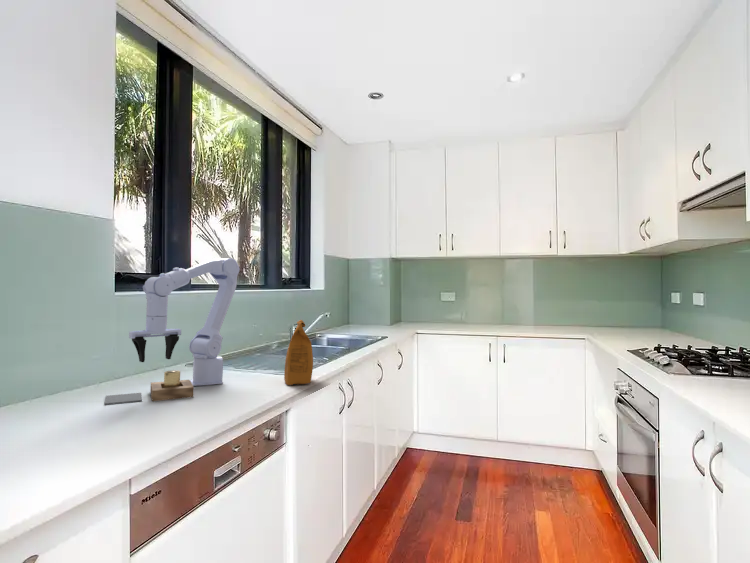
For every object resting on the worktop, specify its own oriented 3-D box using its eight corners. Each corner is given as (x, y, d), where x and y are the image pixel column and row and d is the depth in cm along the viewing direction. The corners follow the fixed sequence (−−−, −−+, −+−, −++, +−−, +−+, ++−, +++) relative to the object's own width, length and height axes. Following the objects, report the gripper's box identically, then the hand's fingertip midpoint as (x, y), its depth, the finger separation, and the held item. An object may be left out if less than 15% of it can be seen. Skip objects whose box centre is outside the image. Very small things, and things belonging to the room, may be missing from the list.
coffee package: (312, 378, 156) (314, 319, 156) (312, 386, 144) (314, 322, 144) (285, 378, 154) (287, 319, 155) (283, 386, 142) (285, 322, 142)
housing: (188, 388, 135) (189, 379, 135) (193, 397, 125) (193, 387, 125) (150, 392, 129) (150, 382, 129) (152, 401, 120) (152, 390, 120)
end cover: (178, 392, 130) (179, 369, 130) (180, 395, 126) (181, 372, 127) (163, 393, 128) (163, 370, 128) (164, 397, 124) (164, 373, 124)
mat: (141, 393, 127) (141, 392, 127) (141, 401, 119) (142, 399, 119) (106, 397, 122) (106, 395, 122) (104, 405, 115) (104, 403, 115)
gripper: (175, 314, 136) (173, 355, 136) (126, 315, 125) (124, 361, 125) (184, 315, 131) (183, 358, 131) (134, 317, 121) (133, 364, 120)
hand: (155, 360), depth 128 cm, fingers open, 7 cm apart
